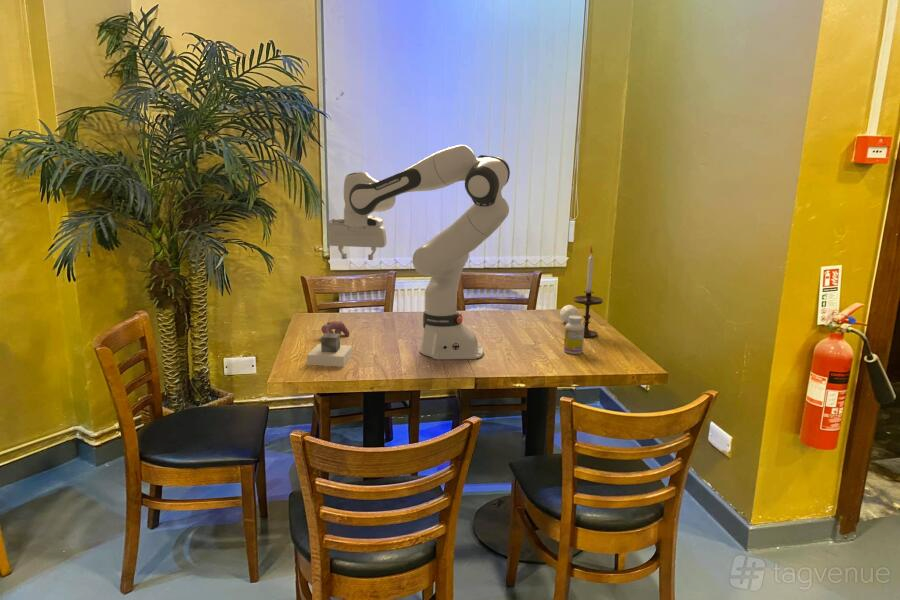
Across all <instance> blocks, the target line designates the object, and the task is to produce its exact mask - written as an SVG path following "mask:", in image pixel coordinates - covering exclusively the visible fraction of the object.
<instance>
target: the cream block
mask: <svg viewBox="0 0 900 600" xmlns="http://www.w3.org/2000/svg"><path fill="white" fill-rule="evenodd" d="M353 348H354V347H353V345H344V344H340V349H339V350H338V351H337V352H336V353H334V352H321V343H317V344H316V346H314V348H313V349H311V351H310V352H308V354H306V362H307V366H312V365H323V366H322V367H331V366H337V367H336V368H344V367H345V366H346V365H347V364H346V363H349V361H350V360H351V359H352V357H353V355H354V354H353V350H354V349H353ZM349 359H350V360H349ZM345 364H346V365H345Z"/></svg>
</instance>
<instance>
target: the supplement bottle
mask: <svg viewBox="0 0 900 600" xmlns="http://www.w3.org/2000/svg"><path fill="white" fill-rule="evenodd" d="M568 320H569V323H565V326H564V327H565V328H564V342H563V350H564V352H565V353H566V354H569V353H570V354H571V355H580V354H581V353H582V354H583V351H584V341H585V340H584V339H585V338H584V327H585V324H584V323H582V322H583V317H582V316H581V315H579V316H574V315H573V316H569V319H568Z"/></svg>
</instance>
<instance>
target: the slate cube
mask: <svg viewBox="0 0 900 600" xmlns="http://www.w3.org/2000/svg"><path fill="white" fill-rule="evenodd" d="M320 344H321V352H334V353H336V352H337V351H338V350H339V349H340V345H341V334H335V332H334V333H325V334H324V333H323V335H321V337H320Z"/></svg>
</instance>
